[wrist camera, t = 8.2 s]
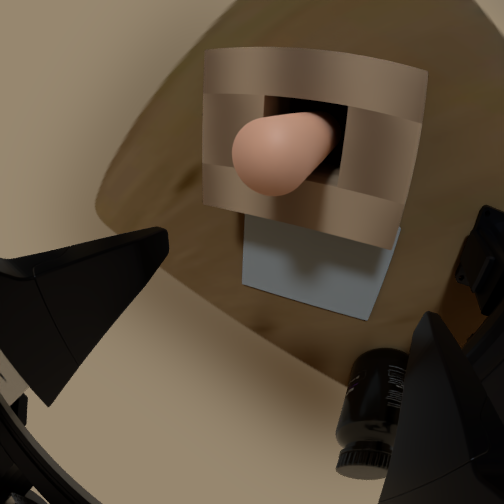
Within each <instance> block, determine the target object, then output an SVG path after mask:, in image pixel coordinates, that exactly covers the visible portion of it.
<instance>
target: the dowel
mask: <svg viewBox="0 0 504 504" xmlns="http://www.w3.org/2000/svg"><path fill="white" fill-rule="evenodd" d="M340 138H341V128H340V125H339V123H338V121H337V120H336V119H335V118H334V117H333V116H332V115H331V114H329V113H327V112H324V111H310V112H300V113H292V114H284V115H276V116H270V117H263V118H258V119H255V120H253V121H251V122H249V123H247V124H246V125H245V126H243V128H242V129H241V130H240V131H239V132H238V134H237V135H236V137H235V140H234V142H233V147H232V160H233V165H234V168H235V170H236V172H237V174H238V176H239V177H240V179H241V180H242V181H243V182H244V184H246V185H247V186H248V187H249V188H250V189H252V190H253V191H255V192H257V193H260V194H262V195H266V196H281V195H285V194H288V193H290V192H292V191H294V190H295V189H296V188H297V187H299V186H300V184H301V183H302V182H303V181H304V180H305V179H306V178H307V177H308V176H309V175H310V174H311V173H312V172H313V171H314V169H315V168H316V167H317V166H318V165H319V164H320V163H321V162H322V161H323V160H324V159H325V158H326V157H327V156H328V154H329V153H330V152H331V151H332V150H333V149H334V148H335V147H336V146H337V145H338V143H339V141H340Z"/></svg>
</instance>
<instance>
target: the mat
mask: <svg viewBox="0 0 504 504" xmlns="http://www.w3.org/2000/svg"><path fill="white" fill-rule="evenodd" d="M400 230H401V229H400V227H399V228H398V231H397V235H396V238H395V241H394V244H393V247H392V250H388V249H384V248H381V247H377V246H373V245H370V244H366V243H362V242H358V241H355V240H351V239H347V238H343V237H340V236H336V235H332V234H328V233H324V232H320V231H316V230H312V229H308V228H304V227H300V226H296V225H292V224H288V223H283V222H279V221H275V220H271V219H267V218H262V217H258V216H254V215H249V214H245V223H244V247H243V272H242V284H244V285H247V286H251V287H254V288H257V289H260V290H263V291H267V292H270V293H273V294H276V295H280V296H283V297H286V298H290V299H293V300H296V301H300V302H303V303H306V304H310V305H313V306H317V307H320V308H324V309H327V310H331V311H334V312H338V313H341V314H345V315H348V316H352V317H356V318H359V319H363V320H366V321H367V320H368V318H369V315H370V313H371V311H372V308H373V306H374V303H375V301H376V298H377V296H378V293H379V291H380V288H381V286H382V283H383V280H384V278H385V275H386V272H387V269H388V267H389V264H390V261H391V258H392V255H393V252H394V249H395V246H396V243H397V240H398V237H399V233H400Z"/></svg>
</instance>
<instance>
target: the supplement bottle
mask: <svg viewBox="0 0 504 504" xmlns="http://www.w3.org/2000/svg"><path fill="white" fill-rule="evenodd" d="M408 359H409V355H407V354H406V353H404V352H402V351H400V350H397V349H393V348H378V349H373V350H370V351H368V352H366V353H364V354H362V355H361V356H360V357H359V358H358V359H357V360H356V361H355V363H354V365H353V368H352V372H351V376H350V380H349V384H348V388H347V392H346V396H345V400H344V404H343V408H342V411H341V415H340V418H339V422H338V425H337V429H336V439H337V441H338V443H339V445H340V446H341V447H342V448H344V449H342V450H341V451H340V454H339V460H338V463H337V466H336V472H338V473H339V474H340V475H343V476H346V477H349V478H354V479H362V480H376V479H382V478H385V477H386V475H387V471H388V467H389V463H390V459H391V455H392V451H393V446H394V442H395V437H396V432H397V426H398V421H399V415H400V409H401V402H402V395H403V387H404V379H405V374H406V369H407V364H408Z"/></svg>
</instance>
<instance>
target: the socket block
mask: <svg viewBox="0 0 504 504" xmlns="http://www.w3.org/2000/svg"><path fill="white" fill-rule="evenodd" d="M427 80H428V71H425V70H421V69H418V68H415V67H411V66H407V65H403V64H399V63H395V62H391V61H387V60H382V59H377V58H372V57H367V56H361V55H355V54H349V53H342V52H335V51H326V50H316V49H304V48H286V47H238V48H221V49H208V50H205V60H204V86H203V139H202V164H203V204H204V205H208V206H213V207H218V208H222V209H227V210H231V211H236V212H240V213H245V214H249V215H254V216H258V217H262V218H267V219H271V220H275V221H279V222H283V223H288V224H292V225H296V226H300V227H304V228H308V229H312V230H316V231H320V232H324V233H328V234H332V235H336V236H340V237H343V238H347V239H351V240H355V241H358V242H362V243H366V244H370V245H373V246H377V247H381V248H384V249H388V250H392V247H393V244H394V241H395V238H396V235H397V231H398V228H399V225H400V221H401V218H402V214H403V211H404V207H405V203H406V199H407V195H408V191H409V187H410V183H411V179H412V175H413V170H414V165H415V161H416V156H417V151H418V145H419V140H420V134H421V128H422V122H423V115H424V107H425V99H426V90H427ZM291 98H300V99H308V100H315V101H322V102H329V103H335V104H341V105H346V106H348V113H347V122H346V130H345V138H344V145H343V152H342V159H341V165H340V166H336V165H331V164H326V163H322V162H321V163H320V164H319V165H318V166H317V167H316V168H315V169H314V171H313V172H312V173H311V174H310V175H309V176H308V177H307V178H306V179H305V180H304V181H303V182H302V183H301V184H300V186H299V187H297V188H296V189H295V190H294V191H292V192H290V193H288V194H285V195H281V196H266V195H262V194H260V193H257V192H255V191H253V190H252V189H250V188H249V187H248V186H247V185H246V184H244V182H243V181H242V180H241V179H240V177H239V176H238V174H237V172H236V170H235V168H234V165H233V160H232V147H233V142H234V140H235V137H236V135H237V134H238V132H239V131H240V130H241V129H242V128H243V126H245V125H246V124H247V123H249V122H251V121H253V120H255V119H258V118H263V117H270V116H276V115H284V114H289V112H290V100H291Z"/></svg>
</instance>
